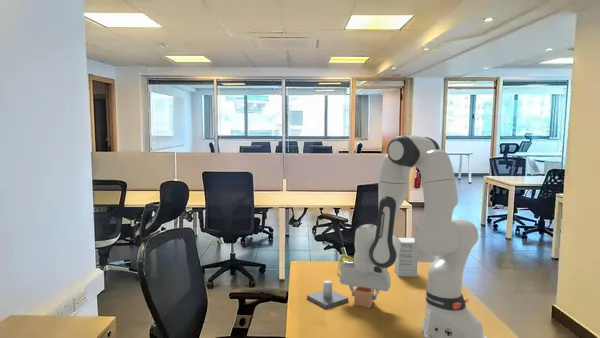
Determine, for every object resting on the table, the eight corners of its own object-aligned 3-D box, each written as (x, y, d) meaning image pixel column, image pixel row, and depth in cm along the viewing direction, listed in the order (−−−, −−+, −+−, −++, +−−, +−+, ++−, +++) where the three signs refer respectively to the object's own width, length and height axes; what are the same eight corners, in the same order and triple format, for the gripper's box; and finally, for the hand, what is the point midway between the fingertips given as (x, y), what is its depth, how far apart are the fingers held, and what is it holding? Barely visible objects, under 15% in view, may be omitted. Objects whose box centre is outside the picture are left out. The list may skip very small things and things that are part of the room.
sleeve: (373, 301, 172) (374, 287, 171) (369, 307, 166) (370, 292, 165) (358, 298, 174) (358, 284, 174) (354, 304, 168) (354, 290, 168)
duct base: (348, 301, 171) (348, 283, 171) (325, 308, 164) (326, 290, 164) (328, 292, 181) (329, 275, 180) (306, 298, 174) (307, 280, 173)
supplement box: (417, 277, 201) (418, 242, 199) (397, 276, 201) (399, 242, 199) (412, 270, 210) (414, 237, 208) (394, 270, 210) (395, 237, 209)
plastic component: (368, 276, 194) (350, 268, 192) (361, 290, 195) (342, 282, 193) (357, 260, 214) (340, 252, 212) (350, 272, 214) (333, 265, 212)
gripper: (337, 263, 170) (337, 296, 171) (388, 270, 162) (387, 304, 163) (342, 258, 175) (341, 290, 177) (391, 265, 167) (390, 298, 169)
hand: (364, 297), depth 170 cm, fingers open, 7 cm apart
